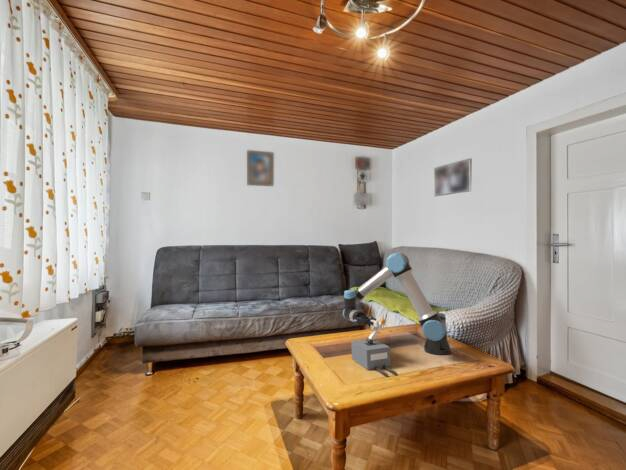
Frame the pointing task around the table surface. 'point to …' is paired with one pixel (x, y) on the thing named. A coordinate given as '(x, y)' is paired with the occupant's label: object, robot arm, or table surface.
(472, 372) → the table surface
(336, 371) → the table surface
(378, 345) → the grey power plug
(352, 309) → the robot arm
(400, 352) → the table surface
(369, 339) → the breaker lever
